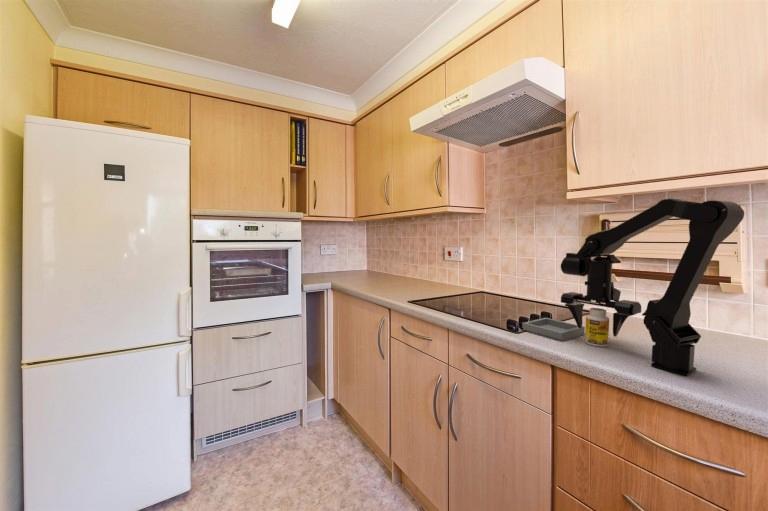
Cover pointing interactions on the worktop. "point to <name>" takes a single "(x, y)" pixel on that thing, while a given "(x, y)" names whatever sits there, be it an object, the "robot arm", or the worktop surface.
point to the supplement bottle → (597, 327)
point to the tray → (553, 329)
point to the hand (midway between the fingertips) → (596, 332)
